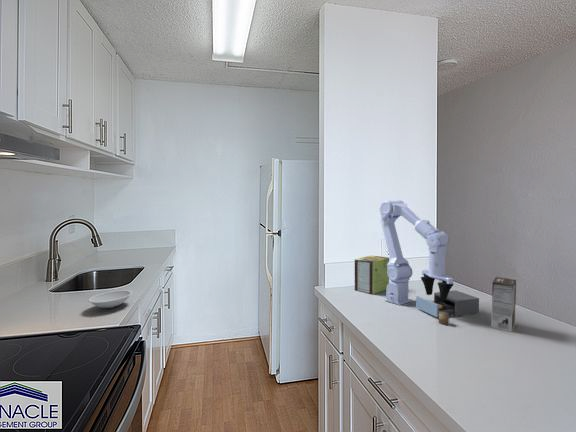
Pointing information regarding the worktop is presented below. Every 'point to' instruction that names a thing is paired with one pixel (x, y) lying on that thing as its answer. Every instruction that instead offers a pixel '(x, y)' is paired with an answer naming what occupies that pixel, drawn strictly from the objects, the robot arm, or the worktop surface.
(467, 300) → the box
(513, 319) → the coffee box
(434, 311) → the tray
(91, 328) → the worktop surface
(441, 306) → the puck
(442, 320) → the post
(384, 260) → the protein box
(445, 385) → the worktop surface
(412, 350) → the worktop surface
